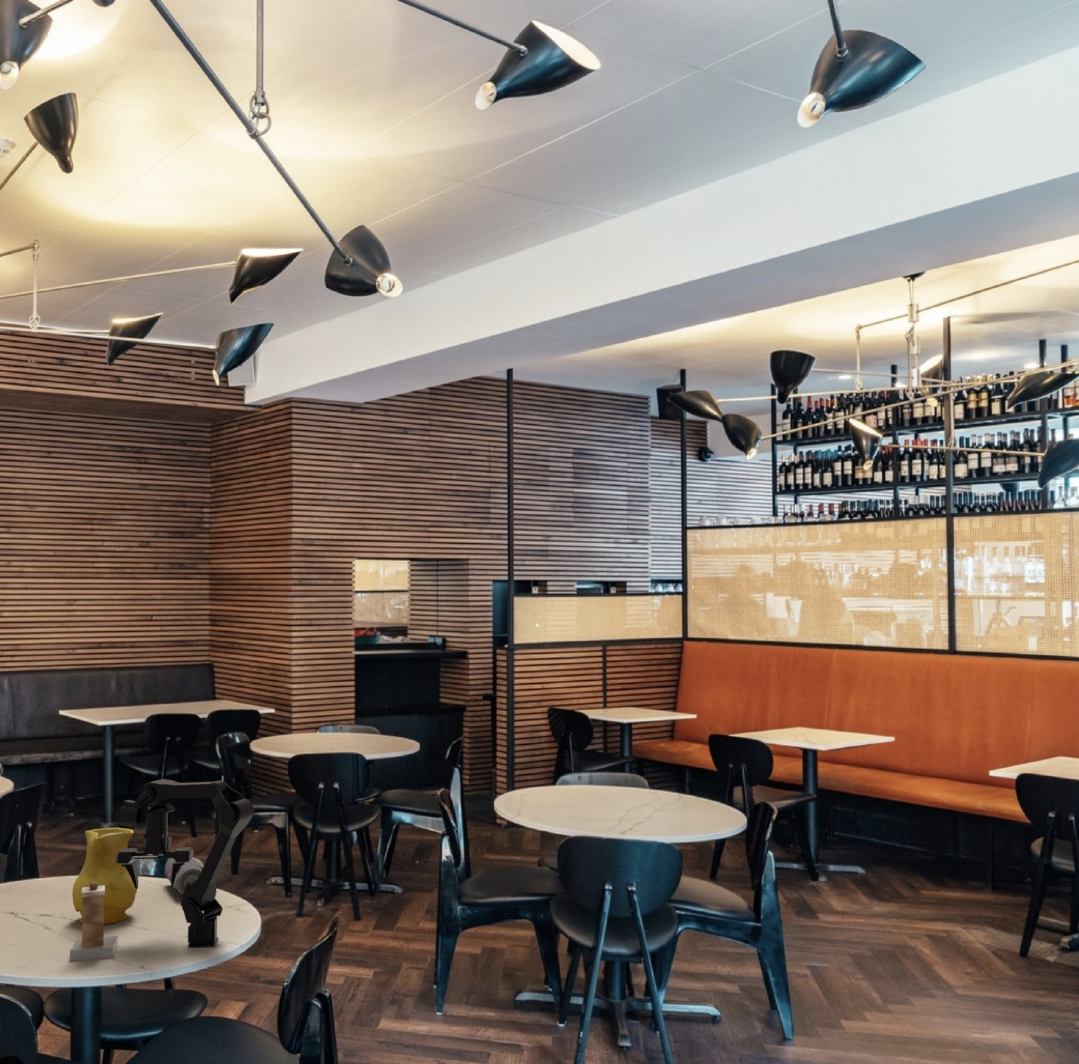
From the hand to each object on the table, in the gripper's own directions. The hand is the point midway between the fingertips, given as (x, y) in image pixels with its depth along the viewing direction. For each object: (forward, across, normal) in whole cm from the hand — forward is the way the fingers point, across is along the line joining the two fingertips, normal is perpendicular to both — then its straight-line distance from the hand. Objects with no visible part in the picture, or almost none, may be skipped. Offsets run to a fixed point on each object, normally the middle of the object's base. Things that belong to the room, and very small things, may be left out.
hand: (154, 888), depth 292 cm
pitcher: (+13, +18, -21) cm, 31 cm away
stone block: (+14, +12, +11) cm, 21 cm away
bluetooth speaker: (+13, +2, -48) cm, 50 cm away
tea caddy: (+10, +12, +11) cm, 20 cm away
